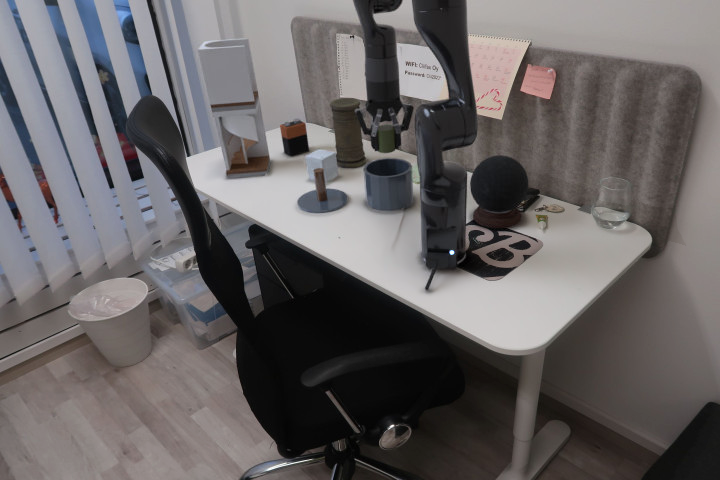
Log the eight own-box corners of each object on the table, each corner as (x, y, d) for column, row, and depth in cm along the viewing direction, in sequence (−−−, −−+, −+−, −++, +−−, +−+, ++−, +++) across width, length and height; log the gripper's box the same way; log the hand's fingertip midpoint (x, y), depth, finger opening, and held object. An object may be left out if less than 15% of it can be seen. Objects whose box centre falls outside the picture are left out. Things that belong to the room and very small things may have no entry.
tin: (393, 153, 131) (392, 130, 128) (375, 153, 132) (374, 130, 129) (396, 146, 135) (395, 124, 132) (379, 146, 135) (377, 124, 132)
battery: (310, 151, 173) (305, 119, 167) (290, 157, 169) (285, 125, 164) (302, 147, 176) (298, 116, 170) (283, 153, 172) (278, 121, 167)
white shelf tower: (227, 178, 158) (197, 49, 139) (232, 164, 167) (204, 41, 147) (267, 175, 159) (244, 46, 140) (270, 161, 168) (248, 38, 148)
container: (361, 169, 159) (356, 106, 149) (332, 167, 161) (324, 106, 151) (369, 157, 167) (364, 97, 157) (340, 156, 168) (334, 96, 159)
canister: (409, 213, 135) (407, 177, 130) (362, 212, 137) (358, 176, 132) (415, 192, 145) (414, 158, 140) (371, 191, 147) (369, 157, 141)
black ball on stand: (476, 201, 139) (478, 144, 131) (529, 208, 135) (535, 149, 127) (463, 226, 129) (464, 166, 120) (520, 234, 124) (525, 172, 116)
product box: (339, 176, 155) (336, 152, 151) (325, 185, 151) (322, 159, 147) (322, 172, 158) (319, 148, 154) (308, 180, 154) (304, 155, 150)
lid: (341, 216, 136) (337, 181, 130) (291, 214, 138) (285, 180, 132) (353, 193, 146) (349, 160, 141) (306, 191, 148) (301, 159, 143)
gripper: (352, 83, 120) (359, 158, 129) (417, 77, 122) (418, 151, 131) (348, 74, 126) (355, 146, 135) (410, 69, 128) (412, 140, 137)
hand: (386, 148), depth 133 cm, fingers closed on tin, 4 cm apart
